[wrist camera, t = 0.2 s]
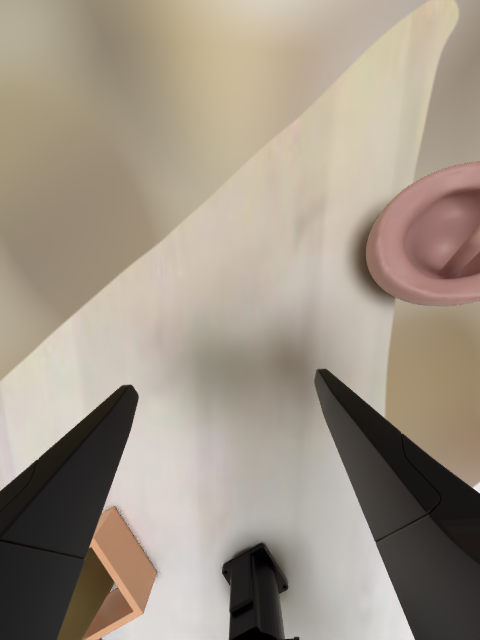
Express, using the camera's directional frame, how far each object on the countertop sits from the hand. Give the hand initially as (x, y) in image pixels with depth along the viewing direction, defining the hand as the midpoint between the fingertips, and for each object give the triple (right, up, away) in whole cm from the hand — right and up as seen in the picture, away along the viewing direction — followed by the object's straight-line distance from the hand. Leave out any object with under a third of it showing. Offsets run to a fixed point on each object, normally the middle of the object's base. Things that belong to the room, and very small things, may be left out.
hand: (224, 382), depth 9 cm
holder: (-18, -29, +16) cm, 38 cm away
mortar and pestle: (+20, +10, +14) cm, 26 cm away
